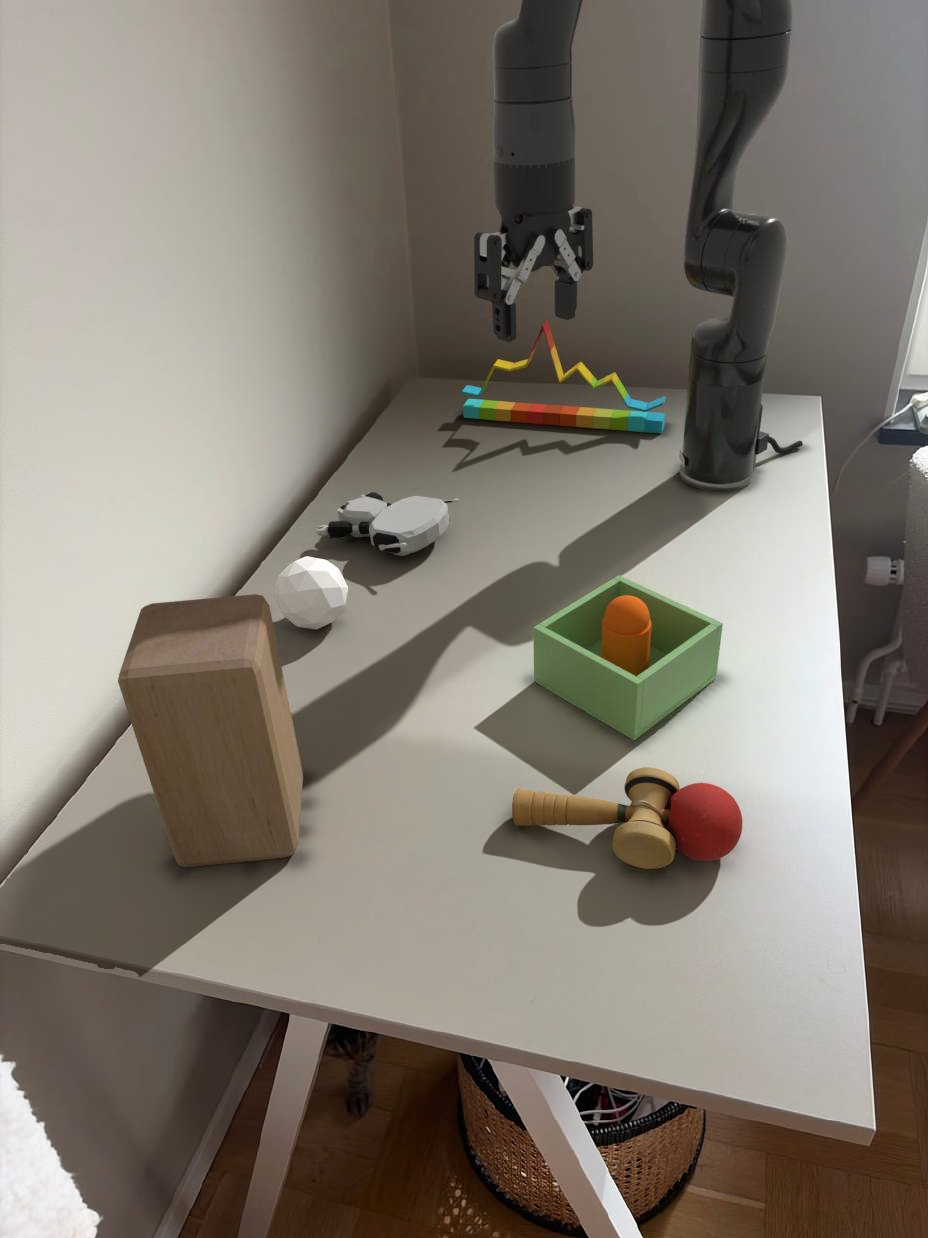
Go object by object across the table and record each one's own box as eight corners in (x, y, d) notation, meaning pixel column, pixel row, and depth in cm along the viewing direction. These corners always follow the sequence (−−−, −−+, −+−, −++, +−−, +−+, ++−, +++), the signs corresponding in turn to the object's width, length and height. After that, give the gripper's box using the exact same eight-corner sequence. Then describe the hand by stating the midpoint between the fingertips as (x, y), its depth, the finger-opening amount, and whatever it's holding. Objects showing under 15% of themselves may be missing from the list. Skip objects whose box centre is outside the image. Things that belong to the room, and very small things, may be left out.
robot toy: (313, 554, 121) (414, 574, 113) (306, 521, 118) (408, 540, 111) (370, 510, 129) (467, 526, 122) (364, 479, 127) (463, 494, 119)
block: (192, 786, 87) (138, 599, 75) (305, 775, 87) (268, 587, 76) (175, 873, 79) (111, 678, 67) (299, 861, 79) (256, 665, 68)
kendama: (509, 873, 78) (742, 888, 73) (499, 807, 76) (739, 817, 70) (530, 817, 85) (744, 827, 80) (521, 755, 83) (742, 760, 77)
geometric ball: (310, 652, 107) (261, 622, 101) (304, 593, 112) (257, 562, 106) (365, 623, 104) (319, 591, 98) (358, 565, 109) (312, 530, 103)
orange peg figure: (620, 655, 98) (624, 580, 93) (657, 674, 95) (663, 598, 90) (590, 675, 96) (592, 599, 91) (627, 696, 93) (631, 618, 88)
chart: (664, 424, 145) (671, 324, 136) (661, 433, 142) (668, 331, 134) (469, 409, 153) (464, 314, 145) (463, 417, 151) (458, 321, 142)
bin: (616, 627, 103) (618, 574, 99) (716, 678, 95) (723, 623, 92) (533, 681, 96) (533, 627, 93) (634, 741, 89) (637, 684, 85)
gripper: (507, 171, 83) (512, 356, 92) (616, 144, 91) (611, 317, 100) (448, 162, 88) (459, 339, 97) (557, 137, 95) (557, 303, 105)
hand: (536, 328), depth 98 cm, fingers open, 8 cm apart
